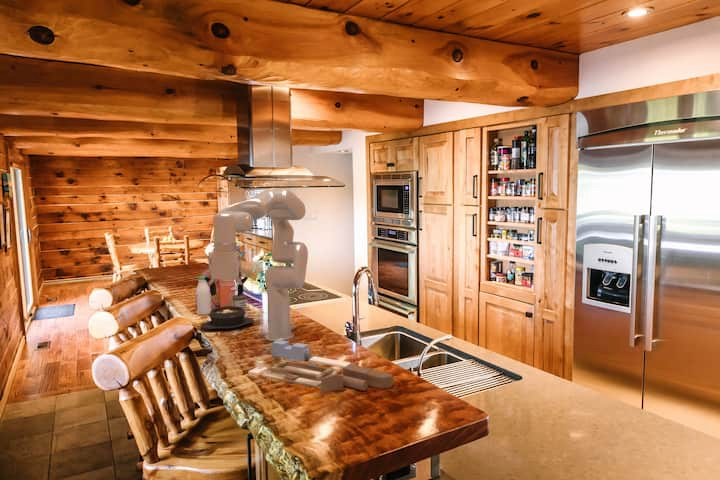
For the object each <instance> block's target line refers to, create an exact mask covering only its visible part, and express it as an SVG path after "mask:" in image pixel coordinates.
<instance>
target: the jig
mask: <svg viewBox="0 0 720 480" xmlns="http://www.w3.org/2000/svg"><path fill="white" fill-rule="evenodd" d="M341 371H342V370H341V369H339V368H333V367H328V366H322V365H321V366H320V363H316V362H311V361H308V362H307V363H305V362H302V361H296V360H295V361H294V360H290V359H285V360H283V361H281V362H279V363H277V364H275V365H273V366H271V367H270V370H267V371H265V372H264V373H262V375H261V376H262V377H264V378H269V379H273V380H279V381H284V382H288V383H293V384H298V385H303V386H308V387H312V388H318V387H321V379H322V378H324V377H326V376H328V375H330V374H339V373H340V372H341Z"/></svg>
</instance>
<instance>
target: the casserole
mask: <svg viewBox="0 0 720 480" xmlns="http://www.w3.org/2000/svg"><path fill="white" fill-rule="evenodd" d="M245 314H246V312H245V311H244V309H243V308H242V307H237V306H225V307H218V308H213V309H212V308H211V312H210V314H208V317H209V318H210V321H206V322H202V323H200V328H202V329H205V330H221V331H222V330H226V331H227V330H234V329H237V328H240V327H242V326H245V325H250V324H252V323H254V322H255V320H254V319H253V318H252V317H249V316H244V315H245Z"/></svg>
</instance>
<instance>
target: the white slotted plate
mask: <svg viewBox="0 0 720 480" xmlns="http://www.w3.org/2000/svg"><path fill="white" fill-rule="evenodd" d="M264 363H265V362H264V360H260V361H258V362H257V367H255V368H252V369H251V370H248V371H247V372H248V375H252V376H260V375H261V374H262V375H263V374H264V373H266V372H268V371H269V367H267V366H265V364H264Z"/></svg>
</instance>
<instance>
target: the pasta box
mask: <svg viewBox="0 0 720 480" xmlns="http://www.w3.org/2000/svg"><path fill="white" fill-rule="evenodd" d="M213 252H214V251H212V252H211V251H210V252H208V269H209V268H211V260H212V253H213ZM208 277H210V278H211V272H209V273H208ZM211 279H212V278H211ZM215 284H216V294H215V295H214V296H211V307H212V308H213V309H215V308H218V307H225V306H230V305H231V299H233V298H232V294H231V293H233V295H236V293H235V292H236V291H232V290H231V288H232V287H234V286H236V285H235V280H216V281H215ZM230 294H231V295H230ZM229 296H230V298H229ZM229 301H230V304H229ZM233 302H235V301H233ZM234 305H235V304H234Z"/></svg>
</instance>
